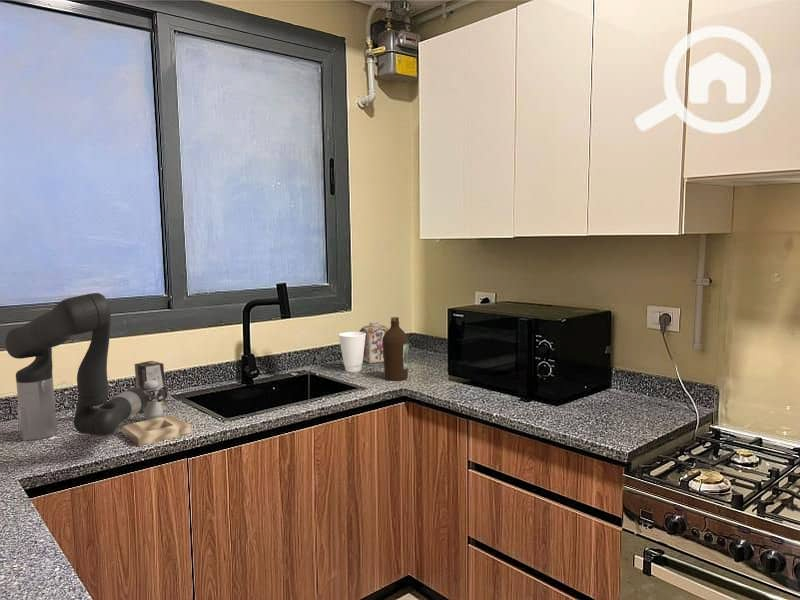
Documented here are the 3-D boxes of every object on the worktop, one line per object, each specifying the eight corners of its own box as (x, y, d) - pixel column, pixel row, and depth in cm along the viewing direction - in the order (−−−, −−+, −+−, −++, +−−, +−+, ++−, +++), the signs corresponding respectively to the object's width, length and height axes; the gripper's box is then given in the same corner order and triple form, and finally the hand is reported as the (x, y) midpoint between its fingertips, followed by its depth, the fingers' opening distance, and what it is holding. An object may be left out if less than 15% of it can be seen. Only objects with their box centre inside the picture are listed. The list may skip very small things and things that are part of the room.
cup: (351, 366, 259) (350, 331, 258) (372, 369, 252) (371, 333, 251) (334, 371, 250) (332, 334, 248) (354, 374, 243) (353, 337, 241)
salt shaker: (157, 416, 190) (155, 377, 189) (166, 419, 186) (164, 380, 185) (140, 420, 185) (137, 381, 184) (149, 424, 182) (146, 383, 180)
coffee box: (167, 409, 198) (164, 363, 196) (148, 414, 193) (145, 366, 191) (155, 404, 204) (152, 360, 202) (137, 409, 199) (133, 363, 197)
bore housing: (138, 446, 162) (138, 437, 162) (122, 433, 173) (121, 425, 173) (191, 433, 172) (190, 425, 172) (172, 422, 183) (172, 414, 183)
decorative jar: (369, 363, 263) (368, 324, 261) (358, 359, 273) (357, 322, 271) (392, 360, 269) (391, 322, 267) (381, 356, 279) (380, 319, 277)
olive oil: (380, 381, 230) (379, 319, 228) (386, 374, 241) (384, 315, 238) (406, 381, 228) (405, 319, 226) (411, 375, 239) (410, 315, 236)
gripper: (151, 391, 170) (175, 377, 187) (103, 391, 171) (132, 378, 187) (152, 416, 171) (177, 400, 187) (105, 416, 172) (134, 400, 188)
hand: (154, 389), depth 187 cm, fingers open, 6 cm apart
